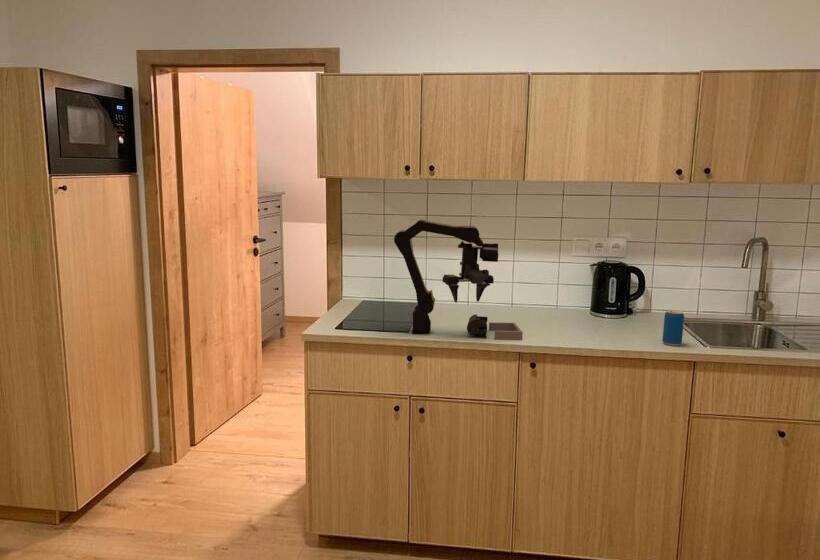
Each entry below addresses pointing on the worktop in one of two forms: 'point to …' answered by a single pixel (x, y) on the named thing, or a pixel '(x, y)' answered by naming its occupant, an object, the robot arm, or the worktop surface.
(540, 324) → the worktop surface
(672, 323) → the beverage can
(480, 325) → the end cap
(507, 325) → the grey shallow tray
